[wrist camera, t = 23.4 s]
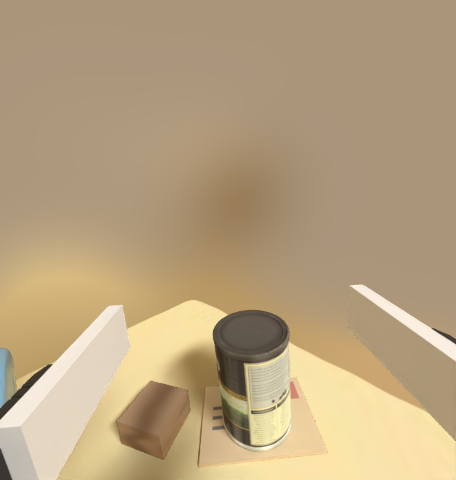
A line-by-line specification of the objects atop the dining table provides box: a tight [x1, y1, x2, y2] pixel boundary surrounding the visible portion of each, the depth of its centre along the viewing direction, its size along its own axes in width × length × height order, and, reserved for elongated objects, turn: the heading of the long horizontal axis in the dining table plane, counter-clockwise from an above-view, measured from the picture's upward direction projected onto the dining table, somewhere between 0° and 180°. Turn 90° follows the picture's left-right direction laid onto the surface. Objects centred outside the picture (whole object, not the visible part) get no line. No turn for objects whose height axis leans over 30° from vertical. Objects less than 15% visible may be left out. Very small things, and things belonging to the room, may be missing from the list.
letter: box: [199, 377, 328, 467], centre depth 33 cm, size 16×12×1 cm
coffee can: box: [213, 310, 292, 452], centre depth 32 cm, size 10×10×14 cm
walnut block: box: [117, 381, 190, 460], centre depth 33 cm, size 7×7×4 cm
